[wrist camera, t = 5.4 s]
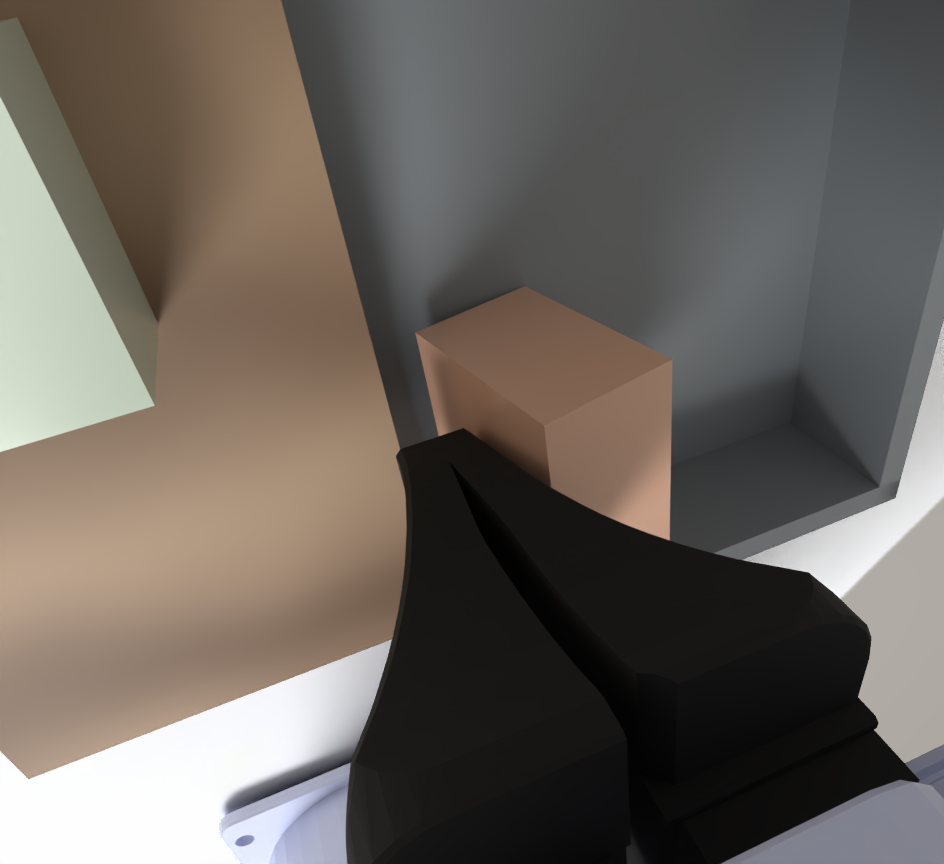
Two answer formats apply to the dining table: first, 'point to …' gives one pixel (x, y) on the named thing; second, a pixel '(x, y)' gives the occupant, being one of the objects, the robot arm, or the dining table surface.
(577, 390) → the tile terracotta
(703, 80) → the tray
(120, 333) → the tile sage
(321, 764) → the dining table surface
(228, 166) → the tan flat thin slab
